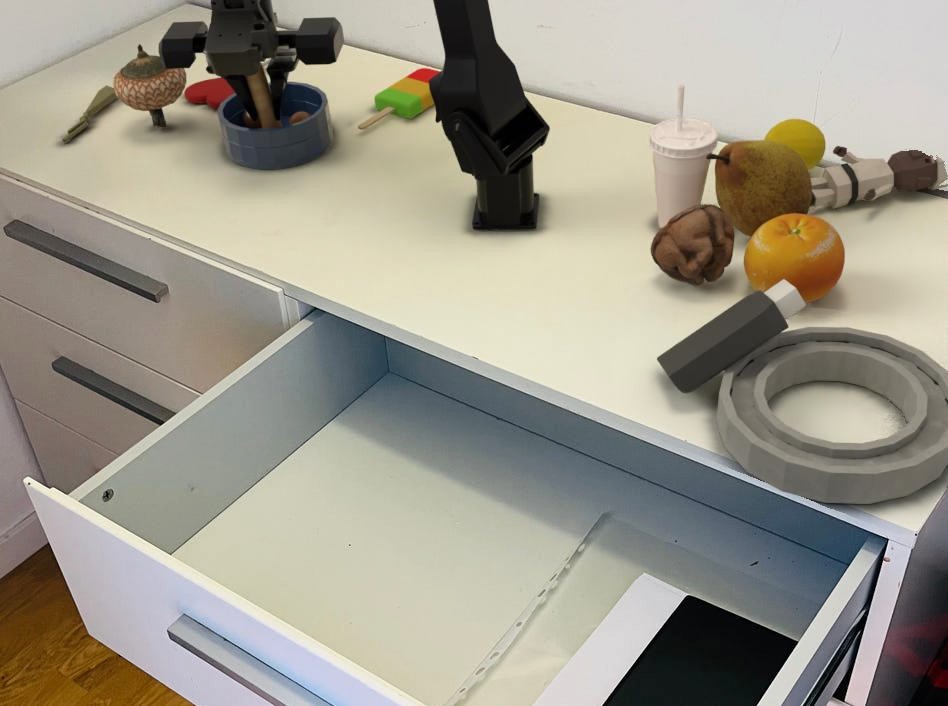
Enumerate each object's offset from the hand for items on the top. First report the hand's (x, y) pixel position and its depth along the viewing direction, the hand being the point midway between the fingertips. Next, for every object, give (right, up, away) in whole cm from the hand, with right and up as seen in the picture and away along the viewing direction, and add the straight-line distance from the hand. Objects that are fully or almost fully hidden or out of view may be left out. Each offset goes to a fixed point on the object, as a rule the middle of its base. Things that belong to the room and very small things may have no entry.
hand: (267, 119), depth 129 cm
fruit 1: (+52, -6, -11) cm, 53 cm away
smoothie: (+43, -15, -13) cm, 47 cm away
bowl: (+1, -1, +4) cm, 4 cm away
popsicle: (+14, +4, +9) cm, 17 cm away
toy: (+55, -12, -13) cm, 58 cm away
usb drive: (+43, -28, -34) cm, 62 cm away
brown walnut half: (+44, -22, -24) cm, 55 cm away
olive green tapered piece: (-24, +4, +11) cm, 26 cm away
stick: (+1, -2, +2) cm, 3 cm away
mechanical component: (+52, -36, -36) cm, 73 cm away
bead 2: (+4, 0, +2) cm, 4 cm away
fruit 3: (+52, -23, -23) cm, 61 cm away
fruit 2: (+53, -15, -15) cm, 57 cm away
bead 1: (-2, +1, +4) cm, 5 cm away
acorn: (-14, +2, +9) cm, 16 cm away
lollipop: (-6, +10, +16) cm, 20 cm away
